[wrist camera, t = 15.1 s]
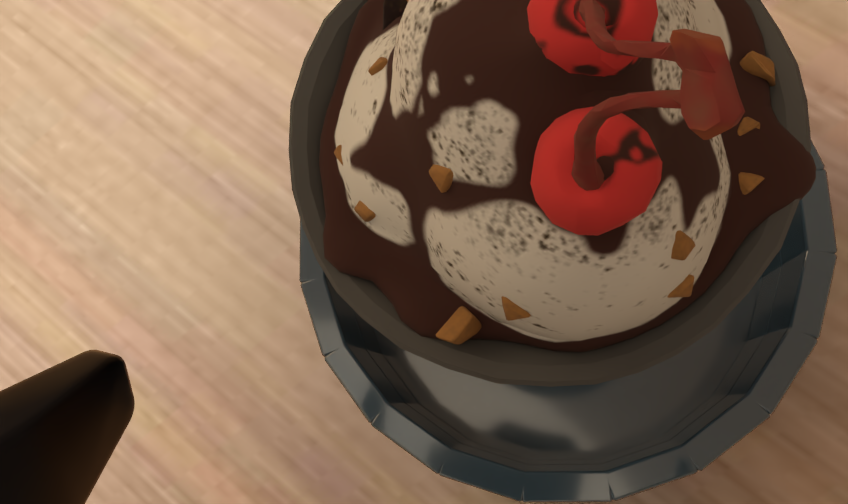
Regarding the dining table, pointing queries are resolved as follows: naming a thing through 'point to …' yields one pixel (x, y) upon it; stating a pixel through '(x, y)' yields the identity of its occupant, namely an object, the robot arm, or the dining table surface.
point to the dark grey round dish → (593, 387)
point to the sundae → (548, 175)
